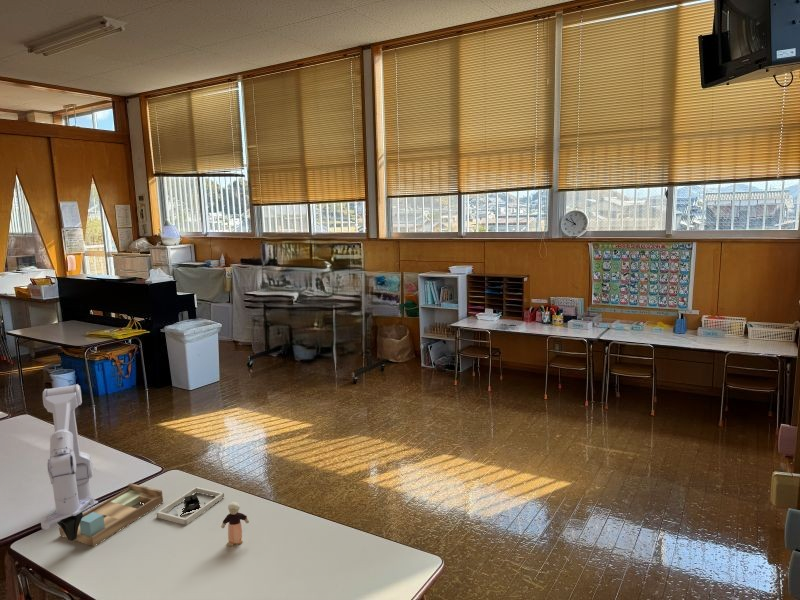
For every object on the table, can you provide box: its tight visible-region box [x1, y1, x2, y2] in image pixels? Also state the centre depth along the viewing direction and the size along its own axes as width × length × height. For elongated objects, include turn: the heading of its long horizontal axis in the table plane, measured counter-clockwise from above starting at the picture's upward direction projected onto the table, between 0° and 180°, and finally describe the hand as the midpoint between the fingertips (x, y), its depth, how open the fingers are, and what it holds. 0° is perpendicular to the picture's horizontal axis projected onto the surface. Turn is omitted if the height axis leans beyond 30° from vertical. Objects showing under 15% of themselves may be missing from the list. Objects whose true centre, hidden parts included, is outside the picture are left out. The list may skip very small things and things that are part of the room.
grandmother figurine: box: [220, 501, 250, 547], centre depth 159 cm, size 8×4×13 cm, turn 118°
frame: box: [155, 486, 225, 526], centre depth 180 cm, size 12×17×2 cm
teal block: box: [80, 512, 105, 536], centre depth 164 cm, size 4×4×4 cm
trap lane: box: [58, 482, 164, 547], centre depth 174 cm, size 15×26×4 cm, turn 157°
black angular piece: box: [180, 493, 201, 517], centre depth 179 cm, size 12×7×5 cm, turn 122°
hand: (72, 538), depth 158 cm, fingers closed
